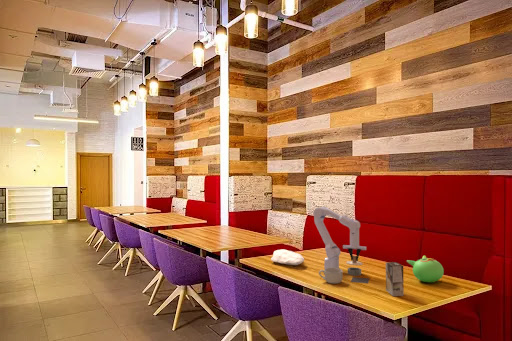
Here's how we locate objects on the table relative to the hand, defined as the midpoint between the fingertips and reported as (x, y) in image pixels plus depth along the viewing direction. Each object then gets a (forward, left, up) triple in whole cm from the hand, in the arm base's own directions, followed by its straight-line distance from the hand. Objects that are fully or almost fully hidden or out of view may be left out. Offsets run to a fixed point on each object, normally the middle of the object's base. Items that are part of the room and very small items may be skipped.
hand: (354, 260), depth 240 cm
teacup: (-11, -23, -10) cm, 27 cm away
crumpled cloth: (-48, +16, -10) cm, 52 cm away
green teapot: (+43, 0, -10) cm, 44 cm away
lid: (0, 0, -2) cm, 2 cm away
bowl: (0, +1, -9) cm, 9 cm away
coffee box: (+25, -31, -10) cm, 41 cm away
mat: (+5, -13, -9) cm, 17 cm away
